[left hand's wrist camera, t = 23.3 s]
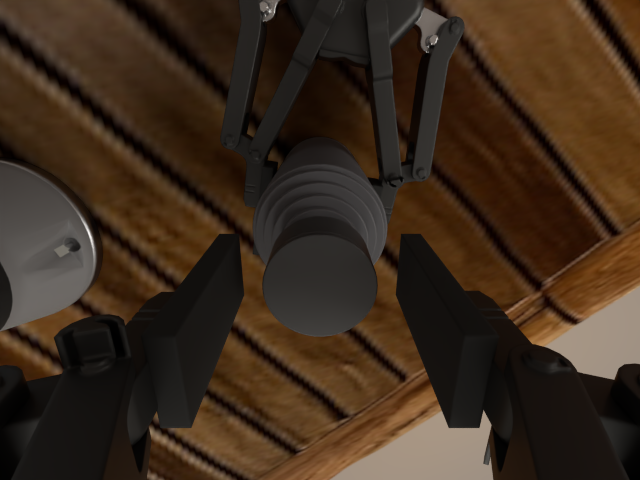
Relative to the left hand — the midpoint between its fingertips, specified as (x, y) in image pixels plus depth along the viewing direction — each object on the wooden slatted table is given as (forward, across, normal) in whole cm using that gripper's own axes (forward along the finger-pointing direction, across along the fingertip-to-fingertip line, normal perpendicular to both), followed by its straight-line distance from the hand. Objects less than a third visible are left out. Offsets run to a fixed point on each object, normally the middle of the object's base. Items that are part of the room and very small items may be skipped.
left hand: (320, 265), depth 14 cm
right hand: (+12, -1, -5) cm, 13 cm away
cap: (-2, 0, 0) cm, 2 cm away
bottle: (+19, 0, 0) cm, 19 cm away
